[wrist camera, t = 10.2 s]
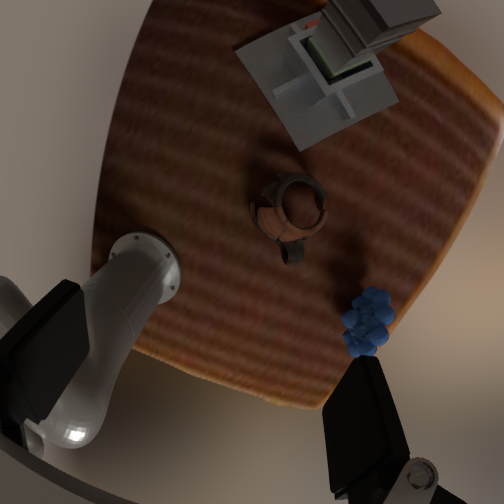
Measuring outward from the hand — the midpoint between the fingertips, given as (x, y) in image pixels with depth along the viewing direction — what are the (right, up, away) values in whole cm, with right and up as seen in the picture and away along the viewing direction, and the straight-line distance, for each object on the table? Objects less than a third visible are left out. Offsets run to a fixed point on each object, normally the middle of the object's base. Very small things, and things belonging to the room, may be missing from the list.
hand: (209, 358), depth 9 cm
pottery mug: (+6, +9, +31) cm, 33 cm away
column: (+10, +24, +17) cm, 31 cm away
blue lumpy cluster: (+17, -4, +36) cm, 40 cm away
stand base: (+10, +27, +23) cm, 37 cm away
